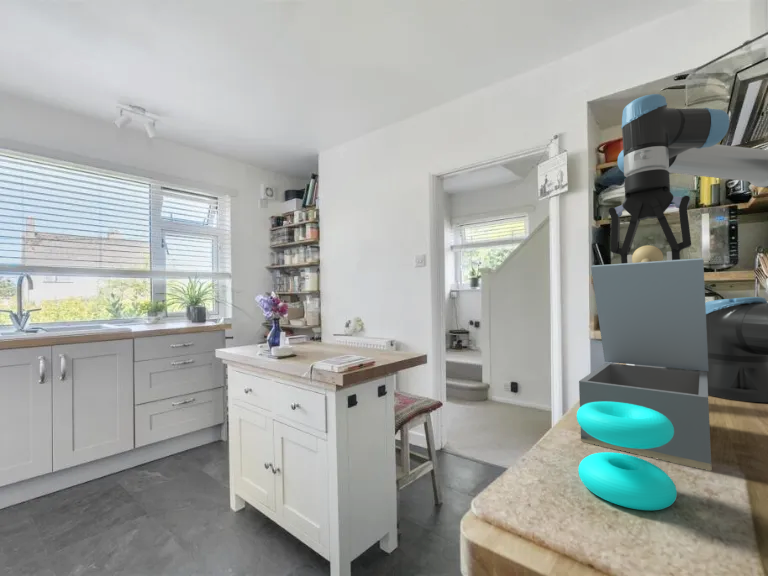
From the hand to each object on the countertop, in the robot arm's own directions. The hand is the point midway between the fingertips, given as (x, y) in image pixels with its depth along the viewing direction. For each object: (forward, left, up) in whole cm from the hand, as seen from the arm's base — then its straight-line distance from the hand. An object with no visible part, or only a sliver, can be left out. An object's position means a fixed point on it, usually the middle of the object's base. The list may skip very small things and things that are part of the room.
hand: (650, 284), depth 73 cm
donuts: (+30, +23, -27) cm, 46 cm away
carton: (+11, +8, -26) cm, 30 cm away
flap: (+6, +4, -6) cm, 10 cm away
